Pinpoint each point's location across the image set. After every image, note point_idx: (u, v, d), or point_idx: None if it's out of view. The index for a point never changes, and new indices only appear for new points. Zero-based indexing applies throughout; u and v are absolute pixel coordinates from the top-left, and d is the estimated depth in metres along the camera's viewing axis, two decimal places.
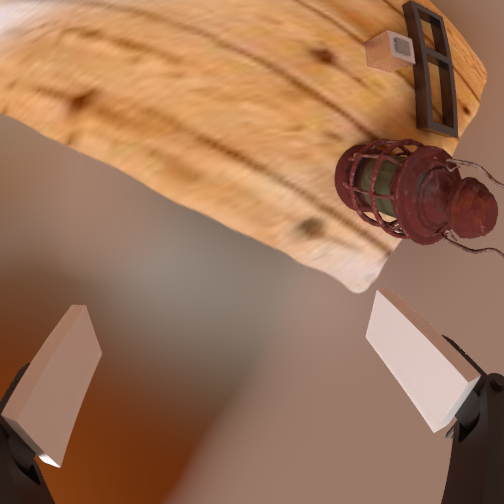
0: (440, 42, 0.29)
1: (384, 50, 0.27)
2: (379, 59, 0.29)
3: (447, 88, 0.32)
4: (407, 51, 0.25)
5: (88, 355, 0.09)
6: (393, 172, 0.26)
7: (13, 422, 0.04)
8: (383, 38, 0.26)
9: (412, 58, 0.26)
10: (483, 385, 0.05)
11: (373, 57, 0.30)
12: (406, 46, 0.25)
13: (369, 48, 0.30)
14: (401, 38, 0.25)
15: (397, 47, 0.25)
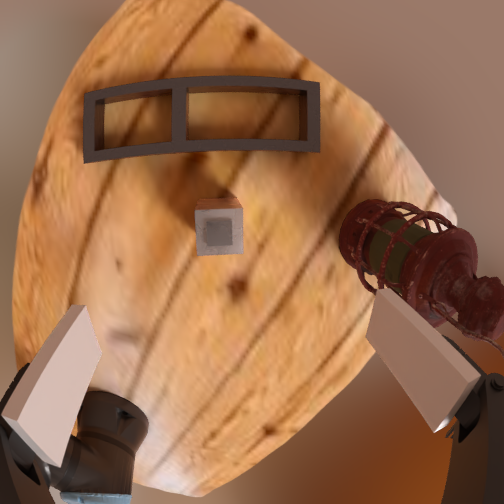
0: (141, 94, 0.25)
1: None
2: None
3: (233, 88, 0.26)
4: (227, 226, 0.25)
5: (88, 355, 0.09)
6: None
7: (13, 422, 0.04)
8: None
9: (234, 213, 0.26)
10: (483, 385, 0.05)
11: None
12: (217, 227, 0.25)
13: None
14: (203, 233, 0.26)
15: (226, 244, 0.26)
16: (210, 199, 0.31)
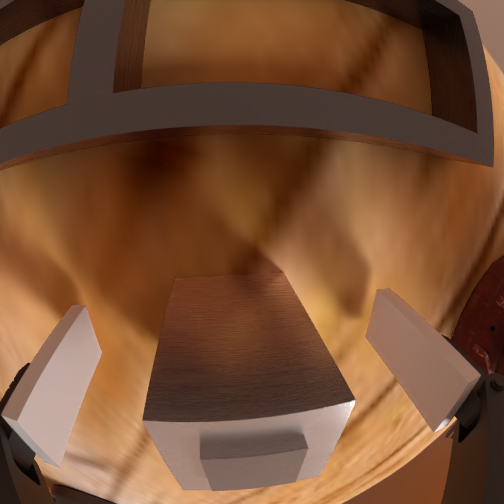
0: (31, 7, 0.04)
1: None
2: None
3: None
4: (284, 461, 0.05)
5: (88, 355, 0.09)
6: None
7: (13, 422, 0.04)
8: None
9: (317, 421, 0.05)
10: (483, 385, 0.05)
11: None
12: (248, 467, 0.05)
13: None
14: (195, 468, 0.05)
15: None
16: (209, 286, 0.10)
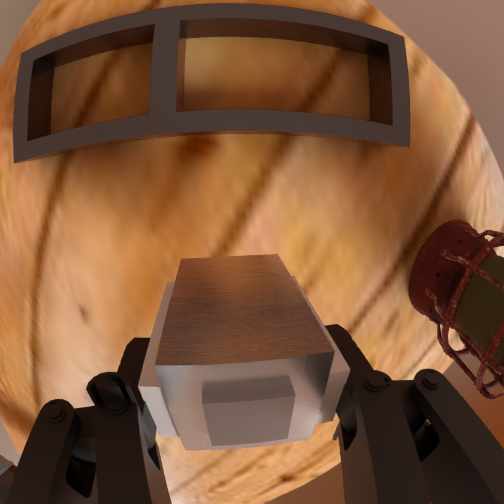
0: (104, 42, 0.11)
1: None
2: None
3: (265, 26, 0.12)
4: (275, 409, 0.06)
5: None
6: (501, 372, 0.12)
7: (155, 390, 0.06)
8: None
9: (302, 369, 0.07)
10: (354, 388, 0.07)
11: None
12: (244, 414, 0.06)
13: None
14: (197, 419, 0.07)
15: None
16: (211, 265, 0.12)
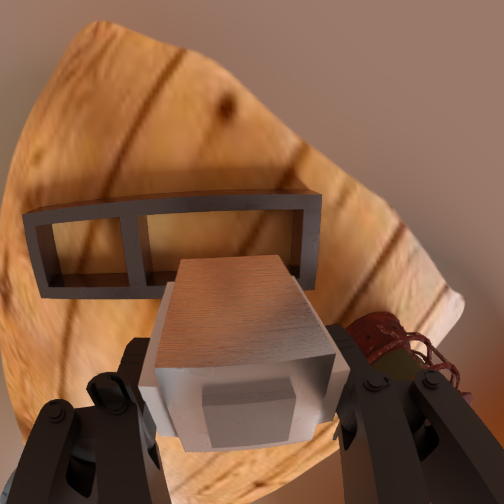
0: None
1: None
2: None
3: None
4: (276, 412, 0.06)
5: None
6: None
7: (155, 390, 0.06)
8: None
9: (303, 371, 0.06)
10: (354, 388, 0.07)
11: None
12: (244, 417, 0.06)
13: None
14: (197, 421, 0.07)
15: None
16: (211, 266, 0.12)
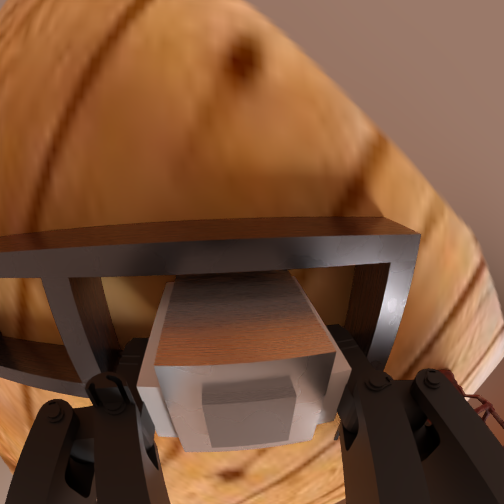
0: None
1: None
2: None
3: None
4: (276, 410, 0.06)
5: None
6: None
7: (153, 391, 0.06)
8: None
9: (304, 370, 0.06)
10: (355, 388, 0.07)
11: None
12: (244, 415, 0.06)
13: None
14: (197, 420, 0.07)
15: None
16: None
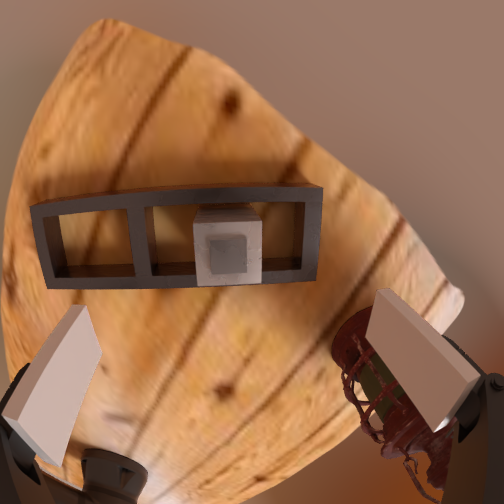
0: None
1: None
2: None
3: None
4: (239, 247, 0.18)
5: (88, 355, 0.09)
6: None
7: (13, 422, 0.04)
8: None
9: (249, 228, 0.18)
10: (483, 385, 0.05)
11: None
12: (226, 249, 0.18)
13: None
14: (206, 255, 0.18)
15: (238, 271, 0.19)
16: (215, 205, 0.23)
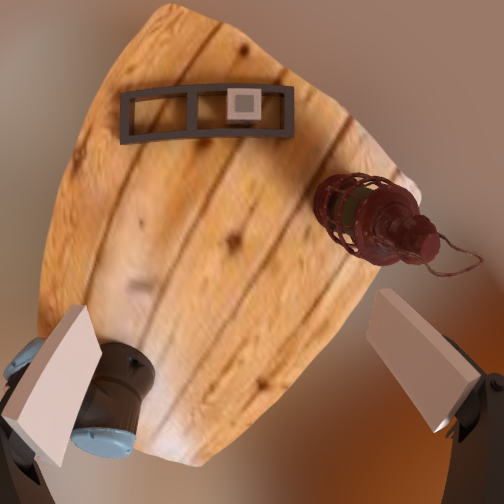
0: (164, 96, 0.35)
1: (249, 120, 0.35)
2: (256, 122, 0.37)
3: None
4: (250, 98, 0.32)
5: (88, 355, 0.09)
6: None
7: (13, 422, 0.04)
8: (235, 120, 0.35)
9: (255, 91, 0.32)
10: (483, 385, 0.05)
11: (249, 123, 0.38)
12: (243, 99, 0.32)
13: (236, 124, 0.39)
14: (233, 103, 0.32)
15: (249, 111, 0.33)
16: None
